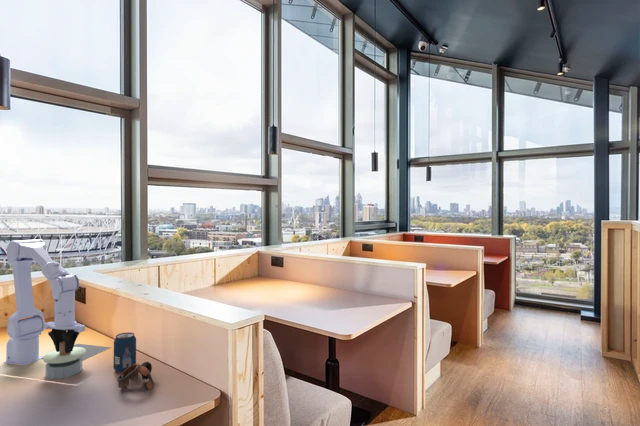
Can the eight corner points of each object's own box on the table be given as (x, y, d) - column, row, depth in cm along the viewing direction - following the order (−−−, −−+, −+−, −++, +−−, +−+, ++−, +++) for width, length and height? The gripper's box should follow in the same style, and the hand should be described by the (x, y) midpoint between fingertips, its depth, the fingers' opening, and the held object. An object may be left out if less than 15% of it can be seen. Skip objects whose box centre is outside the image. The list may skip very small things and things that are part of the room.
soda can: (125, 364, 136) (125, 330, 136) (140, 367, 134) (140, 333, 134) (108, 371, 129) (109, 336, 129) (124, 375, 127) (124, 339, 127)
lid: (33, 361, 123) (33, 347, 123) (64, 347, 135) (64, 334, 135) (65, 365, 121) (65, 350, 121) (94, 350, 133) (94, 337, 132)
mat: (40, 360, 138) (40, 358, 138) (77, 344, 154) (77, 343, 154) (76, 364, 135) (77, 363, 135) (111, 348, 150) (111, 347, 150)
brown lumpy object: (147, 396, 114) (132, 375, 112) (122, 407, 116) (107, 386, 114) (165, 370, 126) (151, 350, 124) (142, 380, 127) (128, 361, 125)
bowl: (38, 378, 124) (38, 366, 124) (65, 366, 134) (65, 354, 133) (63, 381, 122) (63, 369, 122) (88, 369, 131) (88, 357, 131)
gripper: (92, 309, 130) (92, 349, 130) (57, 306, 133) (57, 345, 133) (74, 315, 123) (74, 356, 123) (38, 312, 126) (38, 352, 126)
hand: (64, 351), depth 127 cm, fingers closed on lid, 3 cm apart
